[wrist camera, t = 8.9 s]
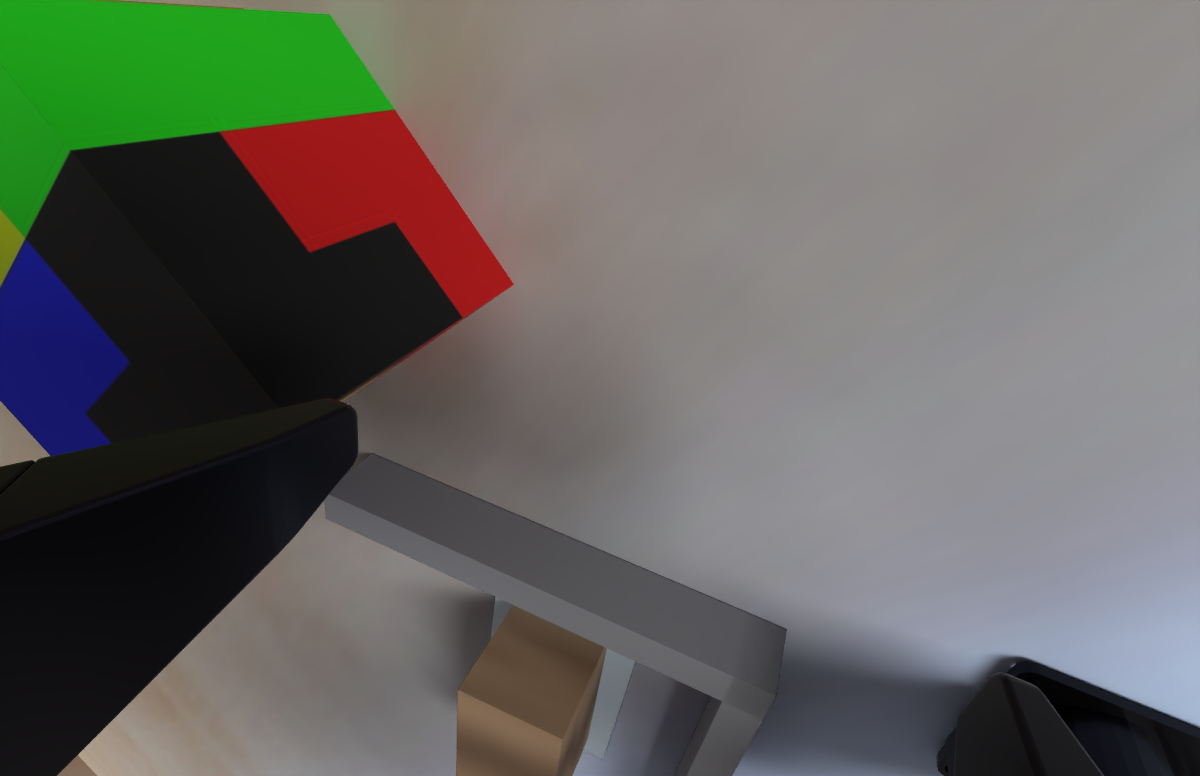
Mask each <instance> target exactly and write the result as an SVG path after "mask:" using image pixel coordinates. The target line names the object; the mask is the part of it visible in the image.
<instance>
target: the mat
mask: <svg viewBox="0 0 1200 776" xmlns="http://www.w3.org/2000/svg"><path fill="white" fill-rule="evenodd" d="M512 606H513V605H512V604H510V603H508V602H506V601H504V600H501V599H499V598H497V597H495V605H494V613H493V621H492V629H491V637H490V640H491V638H492V637H493V635H494V634H495V632H496V631H497V629H498V628H499V626H500V624H501V623H502V621H503V620H504V618H505V617H506V615H507V614H508V612H509V611H510V609H511V608H512ZM635 662H636V661H633V660H631V659H629V658H627V657H625V656H623V655H620V654H618V653H616V652H614V651H612V650H610V649H607V650H606V655H605V660H604V664H603V669H602V674H601V679H600V683H599V688H598V693H597V698H596V702H595V707H594V712H593V717H592V721H591V726H590V731H589V736H588V739H587V742H586V744H585V747H584V749H583V750H584V751H586V752H588V753H590V754H592V755H594V756H596V757H598V758H600V759H602V760H603V758H604V755H605V752H606V749H607V746H608V743H609V740H610V737H611V734H612V731H613V728H614V725H615V722H616V719H617V716H618V713H619V710H620V707H621V704H622V701H623V698H624V695H625V692H626V689H627V686H628V683H629V680H630V677H631V674H632V671H633V668H634V665H635Z"/></svg>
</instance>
